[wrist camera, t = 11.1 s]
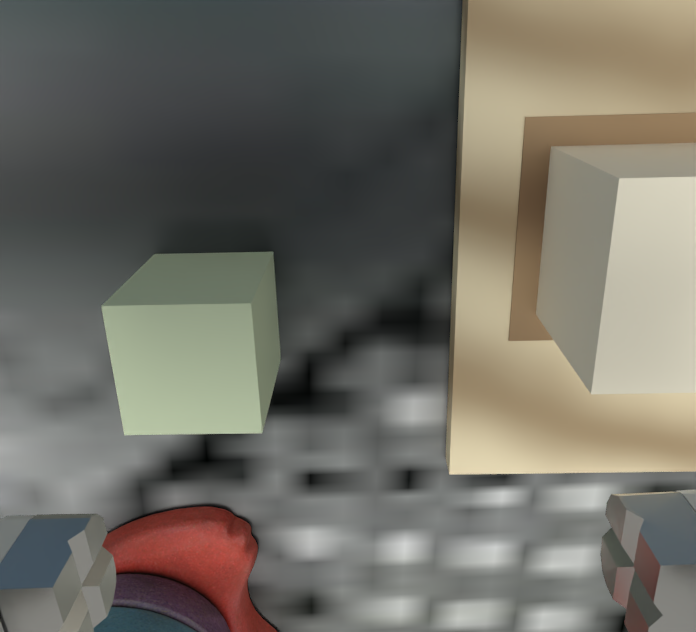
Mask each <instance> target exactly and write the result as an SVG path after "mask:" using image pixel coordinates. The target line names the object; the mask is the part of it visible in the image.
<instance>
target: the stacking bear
mask: <svg viewBox="0 0 696 632" xmlns="http://www.w3.org/2000/svg"><path fill="white" fill-rule="evenodd" d="M102 546H103V547H104V548H105V549H106V550H107V551H108V552H110V553H111V554H112V555H113V558H114V562H115V567H116V587H115V593H114V599H113V603H112V605H111V608H110V610H109V613H108V616H107V617H106V618H105V619H104V620H103V621H101V622H100V623H99V624H98V625H97V626H95V627H94V628H93V629H94V632H277V631H276V630H275V629H274V628H273V627H272V626H271V625H269V624H268V623H267V622H266V621H265V620H264V619H263V618H262V617H261V616H260V615H259V614H258V613H257V611H256V610H255V608H254V607H253V605H252V603H251V600H250V598H249V593H248V587H247V582H248V577H249V575H250V573H251V570H252V568H253V566H254V563H255V560H256V557H257V552H258V546H257V543H256V541H255V539H254V538H253V536H252V535H251V526H250V525H249V523H247V522H246V521H244V520H242V519H240V518H238V517H236V516H234V515H233V514H232V513H231V512H229V511H227V510H225V509H221V508H216V507H210V506H203V507H191V508H182V509H176V510H170V511H166V512H161V513H157V514H153V515H150V516H147V517H144V518H141V519H138V520H135V521H133V522H130V523H128V524H126V525H124V526H121V527H119V528H117V529H116V530H114V531H112V532H110V533H108V534H107V536H106V538H105V540H104V542H103V544H102Z"/></svg>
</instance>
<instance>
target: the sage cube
mask: <svg viewBox="0 0 696 632" xmlns="http://www.w3.org/2000/svg"><path fill="white" fill-rule="evenodd" d="M101 308H102V313H103V319H104V325H105V330H106V336H107V341H108V347H109V352H110V358H111V363H112V369H113V374H114V380H115V385H116V391H117V397H118V402H119V408H120V413H121V419H122V424H123V430H124V435H167V434H238V433H263V429H264V425H265V421H266V417H267V413H268V409H269V405H270V401H271V397H272V393H273V389H274V385H275V381H276V377H277V373H278V369H279V365H280V361H281V354H280V340H279V326H278V312H277V297H276V283H275V269H274V255H273V252H229V253H179V254H154V255H153V256H152V257H151V258H150V259H149V260H148V261H147V262H146V263H145V264H144V265H143V266H142V267H141V268H140V269H139V270H138V271H137V272H136V273H135V274H133V275H132V276H131V277H130V278H129V279H128V280H127V281H126V282H125V283H124V284H123V285H122V286H121V287H120V288H119V289H118V290H117V291H116V292H115V293H114V294H113V295H112V296H111V297H110V298H109V299H108V300H107V301H106V302H105V303H104V304H103V305H102V306H101Z"/></svg>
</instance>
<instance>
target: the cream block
mask: <svg viewBox="0 0 696 632" xmlns="http://www.w3.org/2000/svg"><path fill="white" fill-rule="evenodd" d="M536 315H537V317H538V318H539V320H540V321H541V323H542V324H543V326H544V327H545V328H546V330H547V331H548V333H549V334H550V336H551V337H552V339H553V340H554V341H555V343H556V344H557V346H558V347H559V349H560V350H561V352H562V353H563V354H564V356H565V357H566V359H567V360H568V362H569V363H570V365H571V366H572V368H573V369H574V370H575V372H576V373H577V375H578V376H579V378H580V379H581V381H582V382H583V383H584V385H585V386H586V388H587V389H588V391H589V392H590V394H646V393H696V143H668V144H628V145H588V146H551V151H550V162H549V174H548V185H547V196H546V207H545V218H544V229H543V240H542V252H541V263H540V274H539V285H538V296H537V307H536Z"/></svg>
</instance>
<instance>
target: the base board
mask: <svg viewBox="0 0 696 632" xmlns="http://www.w3.org/2000/svg"><path fill="white" fill-rule="evenodd" d="M668 143H696V0H463V4H462V31H461V57H460V84H459V111H458V138H457V165H456V192H455V218H454V245H453V272H452V299H451V326H450V353H449V379H448V406H447V433H446V462H447V466H448V471H449V474H524V473H602V472H679V471H696V393H646V394H590V392H589V391H588V389H587V388H586V386H585V385H584V383H583V382H582V381H581V379H580V378H579V376H578V375H577V373H576V372H575V370H574V369H573V368H572V366H571V365H570V363H569V362H568V360H567V359H566V357H565V356H564V354H563V353H562V352H561V350H560V349H559V347H558V346H557V344H556V343H555V341H554V340H553V339H552V337H551V336H550V334H549V333H548V331H547V330H546V328H545V327H544V326H543V324H542V323H541V321H540V320H539V318H538V317H537V315H536V307H537V296H538V285H539V274H540V263H541V252H542V240H543V229H544V218H545V207H546V196H547V185H548V174H549V162H550V151H551V146H588V145H628V144H668Z"/></svg>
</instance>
